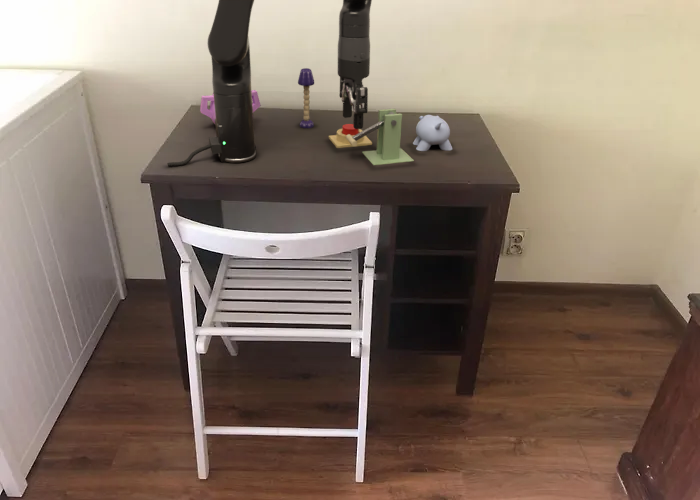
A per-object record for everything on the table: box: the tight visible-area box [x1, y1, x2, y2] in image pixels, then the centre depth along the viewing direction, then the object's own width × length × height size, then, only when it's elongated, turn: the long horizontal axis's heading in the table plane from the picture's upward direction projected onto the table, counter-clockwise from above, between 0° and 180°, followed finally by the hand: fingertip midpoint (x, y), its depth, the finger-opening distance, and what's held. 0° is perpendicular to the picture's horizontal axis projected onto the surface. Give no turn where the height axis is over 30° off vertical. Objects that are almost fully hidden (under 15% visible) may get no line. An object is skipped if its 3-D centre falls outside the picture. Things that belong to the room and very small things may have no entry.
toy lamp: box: [297, 67, 315, 129], centre depth 171 cm, size 5×5×17 cm
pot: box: [199, 89, 262, 125], centre depth 171 cm, size 18×17×12 cm
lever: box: [346, 111, 394, 147], centre depth 149 cm, size 13×5×2 cm, turn 108°
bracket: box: [361, 108, 415, 166], centre depth 152 cm, size 11×9×13 cm
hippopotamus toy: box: [412, 114, 453, 152], centre depth 162 cm, size 11×15×10 cm
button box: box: [328, 128, 373, 149], centre depth 163 cm, size 10×8×4 cm
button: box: [341, 123, 359, 135], centre depth 162 cm, size 4×4×2 cm
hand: (352, 122), depth 147 cm, fingers open, 8 cm apart
